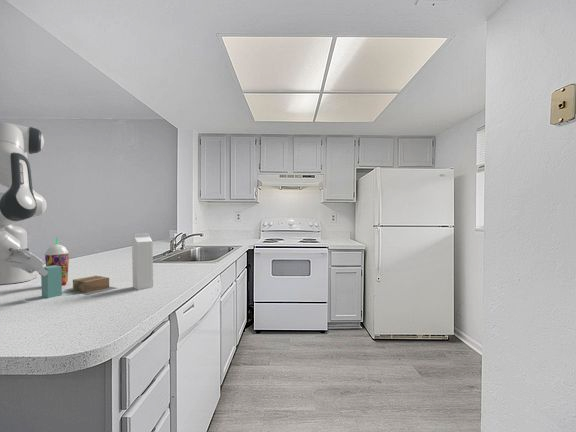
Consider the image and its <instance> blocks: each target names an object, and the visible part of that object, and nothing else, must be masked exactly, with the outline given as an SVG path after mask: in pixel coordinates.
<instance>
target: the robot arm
mask: <svg viewBox="0 0 576 432" xmlns="http://www.w3.org/2000/svg"><path fill="white" fill-rule="evenodd" d="M44 144H45V138H44V135H43V133H42V132H41V130H40V129H38V128H35V127H33V126H30V127H29V126H25V125H21V124H17V123H13V122H12V123H10V122H5V121H4V122H0V185H1V186H4V187H6V188H8V189H7V190H5V191H4V192H0V285H8V284H15V283H16V284H18V283H22V282H28V281H32V280H33V279H36V278H38V275H37V274H35V272H37V273H38V274H39V275H40V276H41V275H42V276H46V275H47V274H48V271H46V270H45V269H44V268H43V267H44V265H45V261H44V260H43V259H41V258H40V257H38V256H37V255H35V254H34V253H32V252H30V250H29V249H30V248H29V247H28V233H27V230H26V229H25V228H23V227H21V226H19V225H16V224H15V223H17V222H18V223H19V222H20V221H24V220H27V219H30V218H33V217H40V216H42V215H44V214H45V212H46V210H47V209H48V208H47V205H48V204H47V201H46V198H44V196H42V195H41V194H39V192H37V191H35V190H34V189H33V180H32V171H31V170H32V169H31V165H30V162H29V158H28V154H30V155H32V154H38V153H40V152H41V151H42V149H43V148H44V146H45V145H44Z"/></svg>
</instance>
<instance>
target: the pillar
mask: <svg viewBox="0 0 576 432" xmlns="http://www.w3.org/2000/svg"><path fill="white" fill-rule="evenodd" d="M43 268H44V269H45V270H46V271H48V274H47V275H46V276H42V275H40V276H41V277H40V278H41V282H40V283H41V297H42V298H45V299H52V298H55V297H60V296H62V295H63V286H62V274H61V266H56V265H53V266H46V265H45V266H43Z"/></svg>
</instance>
